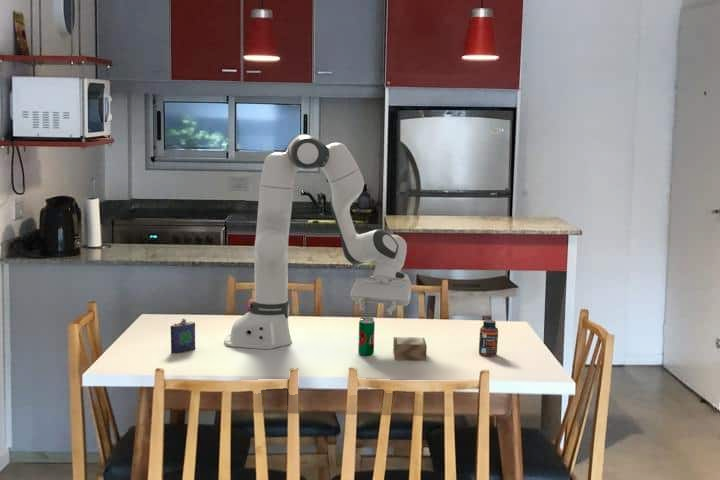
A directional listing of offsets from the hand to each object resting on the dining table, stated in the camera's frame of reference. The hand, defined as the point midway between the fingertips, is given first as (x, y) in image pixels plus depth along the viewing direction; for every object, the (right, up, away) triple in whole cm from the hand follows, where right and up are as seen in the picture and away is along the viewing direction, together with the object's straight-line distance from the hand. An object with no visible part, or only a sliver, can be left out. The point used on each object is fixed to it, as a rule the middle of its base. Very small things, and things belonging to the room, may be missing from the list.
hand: (375, 312), depth 306 cm
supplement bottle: (+37, -14, -1) cm, 40 cm away
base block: (+11, -14, -6) cm, 18 cm away
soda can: (-3, -13, -5) cm, 15 cm away
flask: (-62, -12, -6) cm, 63 cm away
